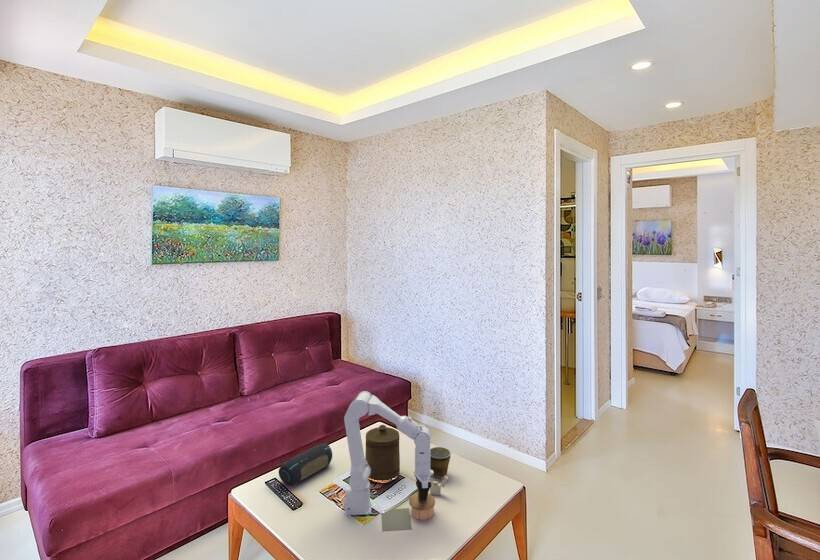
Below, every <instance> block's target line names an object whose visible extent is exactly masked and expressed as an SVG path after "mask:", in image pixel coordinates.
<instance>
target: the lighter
mask: <svg viewBox="0 0 820 560" xmlns="http://www.w3.org/2000/svg"><path fill="white" fill-rule="evenodd" d="M448 479H449V476H448V475H447V476H446V475H445V476H444V478H442V480H441V482H439V481H438V480H437V481H435V480H433V481H431V483H432V485H431V487H430V489H429V494H430V495H432V496H441V490H442V489H441V487H442V488H444V487H445V485H446V483H447V481H448Z"/></svg>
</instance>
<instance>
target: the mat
mask: <svg viewBox="0 0 820 560" xmlns="http://www.w3.org/2000/svg"><path fill="white" fill-rule="evenodd" d="M390 509H391V510H389V511H387V512H385V513H381V512H380V513H381V514H380V515H381V532H395V531H398V532H399V531H410V530H411V531H412V530H413V528H412V520H411V514H410V508H409V507H407V508H406V507H405V508H402V507H401V508H390Z"/></svg>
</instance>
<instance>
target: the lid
mask: <svg viewBox="0 0 820 560" xmlns="http://www.w3.org/2000/svg"><path fill="white" fill-rule="evenodd" d="M408 501H409V502H408V503H409V506H410V507H412V508H414V509H417V510H429V509H431V508H432V507H435V505H436V499H435V497H434V495H430V493H428V496H427V499H426V500H425V501H421V500H420V495H419V490H418V489H417V492H415V493H414V494H412V495H411V496H410V497H409V499H408Z"/></svg>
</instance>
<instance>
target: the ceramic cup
mask: <svg viewBox="0 0 820 560" xmlns="http://www.w3.org/2000/svg"><path fill="white" fill-rule="evenodd" d="M430 449H431V454H430V470H433V472H434V474H433V475H431V476H432V477H433V478H434V479H441V478H442V479H443V478H444V476H445V475H446V476H447V477H448V475H447V474H448V469H449V464H450V460H451V455H452V452H451V450H450V449H448V448H446V447H443V446H442V447H441V446H436V447H430Z"/></svg>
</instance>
